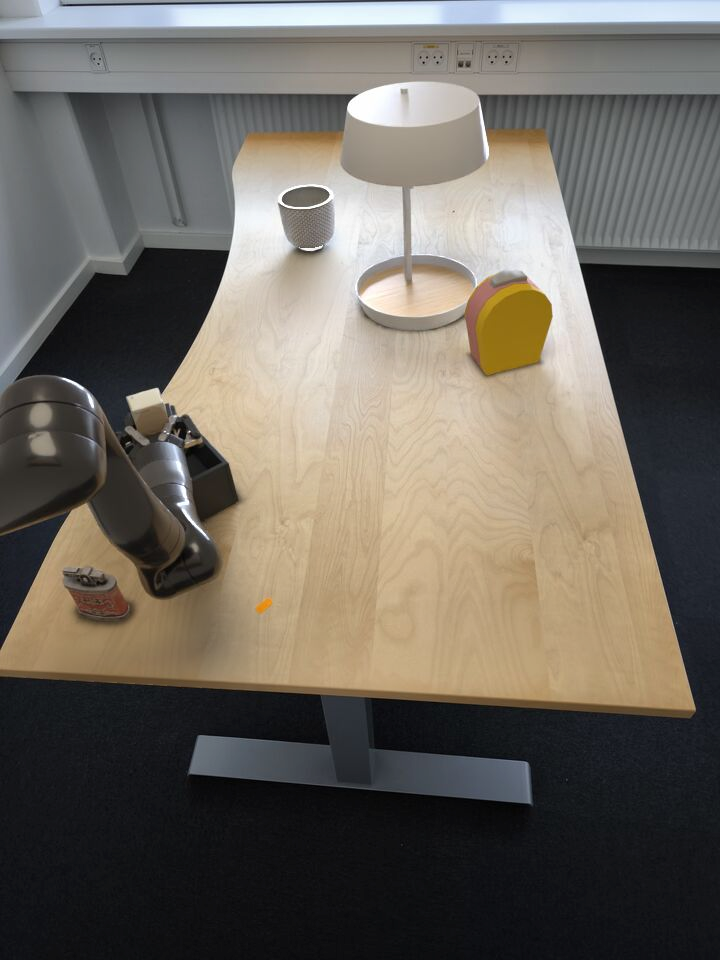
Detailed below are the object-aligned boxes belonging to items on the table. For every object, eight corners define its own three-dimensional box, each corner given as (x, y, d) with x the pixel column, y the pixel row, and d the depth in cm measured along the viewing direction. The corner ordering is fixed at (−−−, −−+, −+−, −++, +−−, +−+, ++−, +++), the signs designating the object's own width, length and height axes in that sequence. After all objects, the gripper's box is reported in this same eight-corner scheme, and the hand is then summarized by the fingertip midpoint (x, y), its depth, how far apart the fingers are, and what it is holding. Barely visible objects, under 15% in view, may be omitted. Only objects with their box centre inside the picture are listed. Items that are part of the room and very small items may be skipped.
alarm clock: (527, 338, 153) (536, 257, 140) (546, 360, 147) (557, 277, 134) (461, 355, 150) (464, 274, 137) (478, 377, 144) (483, 295, 132)
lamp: (369, 347, 154) (355, 136, 124) (340, 280, 175) (321, 85, 145) (500, 321, 158) (516, 110, 128) (456, 259, 178) (461, 64, 148)
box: (149, 465, 117) (129, 411, 109) (144, 450, 120) (123, 396, 112) (181, 455, 118) (163, 401, 110) (175, 439, 121) (157, 386, 113)
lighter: (134, 604, 111) (114, 562, 104) (125, 623, 108) (104, 581, 101) (85, 598, 112) (62, 557, 105) (75, 617, 110) (51, 576, 103)
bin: (156, 546, 119) (140, 508, 112) (117, 493, 128) (101, 455, 122) (238, 500, 125) (228, 462, 118) (196, 453, 134) (185, 416, 128)
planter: (273, 249, 188) (265, 200, 179) (310, 228, 195) (304, 180, 186) (312, 264, 181) (306, 214, 172) (349, 241, 188) (345, 192, 179)
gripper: (207, 448, 103) (188, 381, 115) (104, 475, 101) (96, 405, 112) (218, 485, 108) (199, 418, 120) (121, 513, 106) (111, 441, 118)
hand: (149, 412), depth 116 cm, fingers closed on box, 5 cm apart
